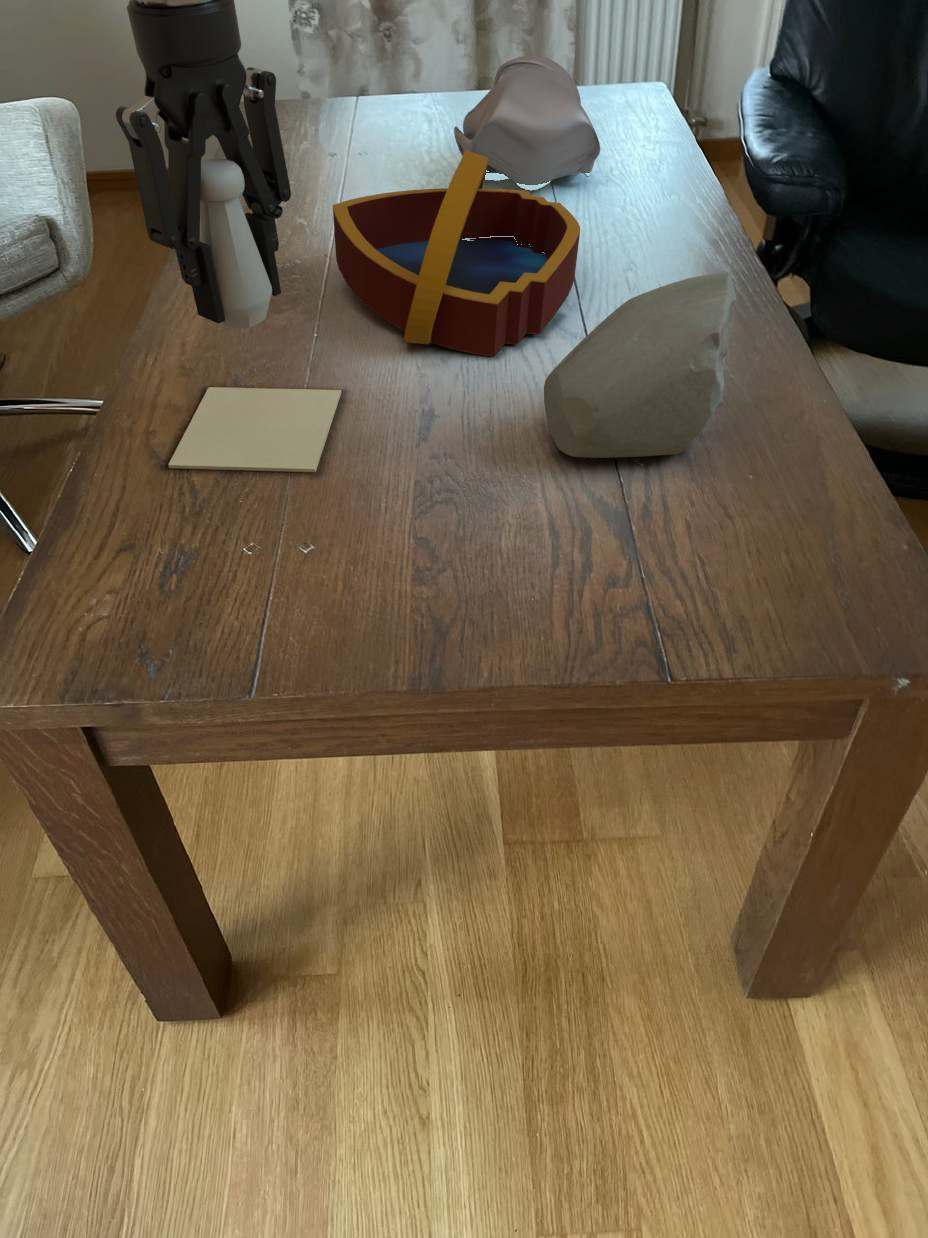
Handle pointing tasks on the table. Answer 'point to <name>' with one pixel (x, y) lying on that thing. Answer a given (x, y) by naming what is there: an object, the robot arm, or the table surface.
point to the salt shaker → (232, 245)
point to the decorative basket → (459, 260)
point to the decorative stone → (644, 373)
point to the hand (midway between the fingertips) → (240, 303)
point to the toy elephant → (531, 124)
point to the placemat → (258, 430)
